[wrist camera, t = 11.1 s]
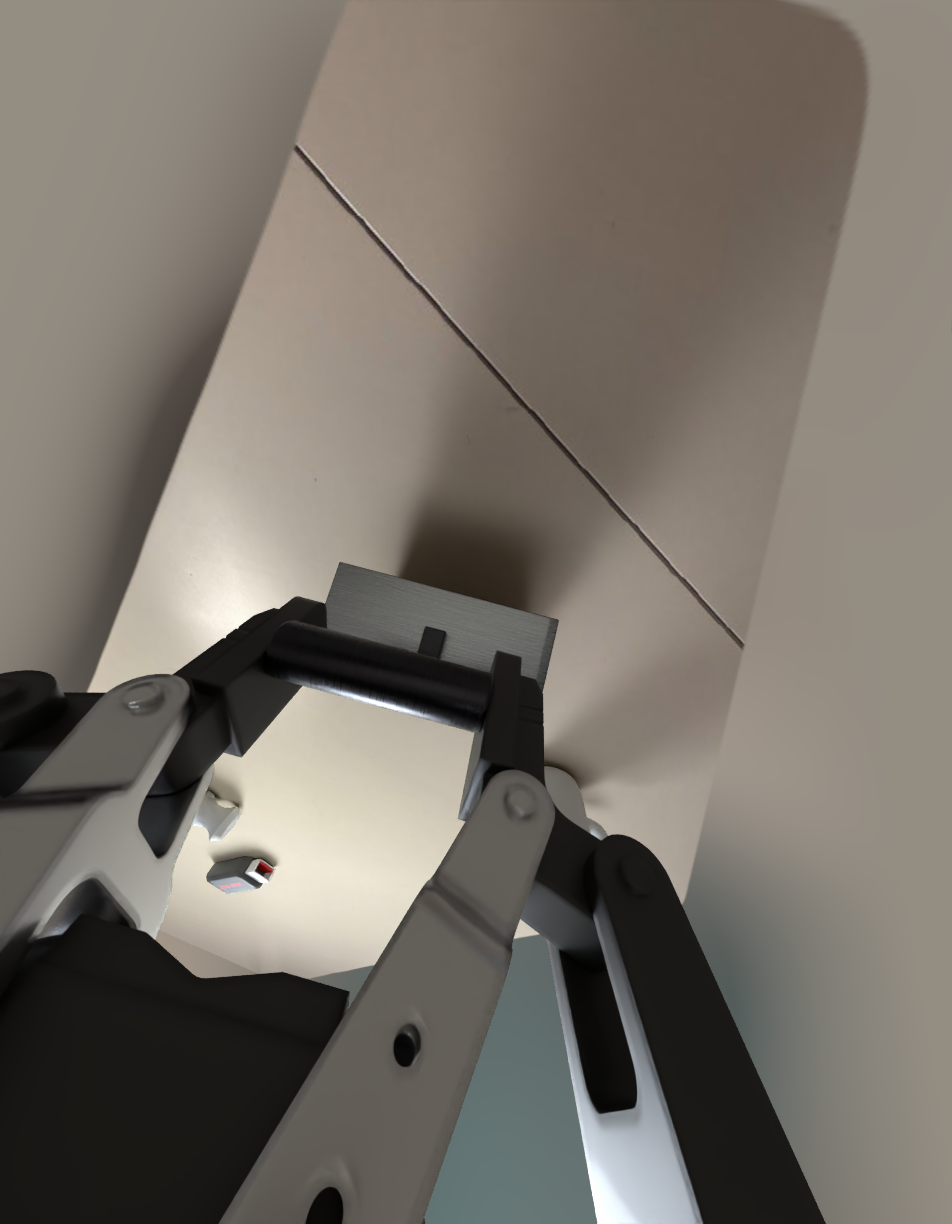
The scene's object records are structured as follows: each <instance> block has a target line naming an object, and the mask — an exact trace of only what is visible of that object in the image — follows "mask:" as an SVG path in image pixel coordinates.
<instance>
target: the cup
mask: <svg viewBox="0 0 952 1224" xmlns="http://www.w3.org/2000/svg"><path fill="white" fill-rule="evenodd" d="M544 774H545V784H546V788H547V791H548V792H549V794H550V796H551V798H552V801H553V803H554V804H555V806H556V807H557V808H558V809H559V810H560V812H561V813H562V814H563V815H564V816H566V817H567V818H568V819H569V820H571V821H572V822H573V823H575V824H576V825H578V826H580V827H581V828H583V829H584V830H586V831H587V832H589V833H590V834H592V835H594V836H595V837H597V838H598V839H600V840H601V841H602V840H603V839H604V838H605V837H607V836H608V835H607V833H606V831H605V830H604V829H603V827H602V826H601V825H599V824H598V823H597V822H595V821H593V820H591V819H589V818H587V816H586V812H585V808H584V803H583V799H582V795H581V792H580V789H579V787H578V785H577V783H576V781H575V780H574V779H573V778H572V777H571V776H570V775H569V774H568V773H566V772H564V771H562V770H560V769H557V768H554V767H548V766H544Z"/></svg>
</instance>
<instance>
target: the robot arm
mask: <svg viewBox="0 0 952 1224" xmlns="http://www.w3.org/2000/svg"><path fill="white" fill-rule="evenodd" d="M291 620H296V621H300V622H304V623H307V624H311V625H315V626H319V627H322V628H326V629H327V608H326V605H325V604H324V603H321V602H317V601H314V600H310V599H306V598H303V597H299V596H298V597H294V598H293V599H291V600H290V601H289V602H288V603H286V604H285V605H284V606H282V607H281V608H280V609H276V608H273V609H270V610H267V611H265V612H262V613H259V614H257V615H254V616H253V617H251V618H250V619H249V620H247V621H246V622H244V623H243V624H242V625H240V626H239V628H238V629H235V630H233V631H232V632H231V633H229V634H228V635H227V636H226V638H222V639H221V640H220V641H218V642H217V643H216V644H214V645H213V646H211V647H210V648H209V649H207V650H206V651H205V652H203V653H202V654H200V655H199V656H198V657H196V658H195V659H193V660H192V661H191V662H189V663H188V664H187V665H185V666H184V667H182V668H181V669H180V670H178V671H177V672H176V673H174V674H173V675H170V674H154V675H147V676H142V677H139V678H135V679H132V680H129V681H127V682H124V683H122V684H120V685H118V686H116V687H115V688H113V689H111V690H110V691H108V692H107V693H63V692H62V690H61V688H60V686H59V685H58V683H57V682H56V680H55V678H54V677H53V676H52V675H50V674H48V673H45V672H42V671H33V670H31V671H29V670H26V671H15V672H8V673H2V674H0V1224H425V1219H424V1216H425V1213H426V1210H427V1207H428V1204H429V1201H430V1198H431V1195H432V1192H433V1190H434V1187H435V1184H436V1181H437V1178H438V1175H439V1172H440V1169H441V1166H442V1163H443V1160H444V1157H445V1155H446V1152H447V1148H448V1146H449V1143H450V1140H451V1137H452V1134H453V1131H454V1128H455V1125H456V1122H457V1119H458V1117H459V1114H460V1111H461V1108H462V1105H463V1102H464V1099H465V1096H466V1093H467V1090H468V1087H469V1085H470V1082H471V1079H472V1076H473V1073H474V1070H475V1067H476V1064H477V1061H478V1058H479V1055H480V1052H481V1049H482V1046H483V1044H484V1041H485V1037H486V1035H487V1032H488V1029H489V1026H490V1023H491V1020H492V1017H493V1015H494V1012H495V1009H496V1006H497V1003H498V1000H499V997H500V994H501V991H502V988H503V985H504V982H505V979H506V976H507V973H508V969H509V965H510V961H511V957H512V942H513V938H514V935H515V932H516V929H517V926H518V923H519V920H520V919H521V920H522V921H524V922H525V923H526V924H528V925H529V926H530V927H532V928H533V929H534V930H535V931H537V932H538V933H539V934H541V935H542V936H543V937H545V938H546V939H547V943H548V949H549V955H550V960H551V966H552V972H553V977H554V983H555V988H556V994H557V999H558V1005H559V1011H560V1015H561V1021H562V1027H563V1033H564V1038H565V1044H566V1050H567V1055H568V1061H569V1066H570V1072H571V1077H572V1082H573V1088H574V1094H575V1099H576V1105H577V1111H578V1116H579V1121H580V1128H581V1133H582V1139H583V1144H584V1150H585V1155H586V1161H587V1166H588V1172H589V1177H590V1183H591V1188H592V1194H593V1200H594V1205H595V1211H596V1216H597V1222H598V1224H826V1223H825V1221H824V1219H823V1216H822V1214H821V1212H820V1210H819V1208H818V1205H817V1203H816V1201H815V1199H814V1197H813V1194H812V1192H811V1190H810V1188H809V1186H808V1183H807V1181H806V1179H805V1177H804V1174H803V1172H802V1170H801V1168H800V1166H799V1163H798V1161H797V1159H796V1157H795V1155H794V1152H793V1150H792V1148H791V1146H790V1144H789V1141H788V1139H787V1137H786V1135H785V1133H784V1130H783V1128H782V1126H781V1124H780V1121H779V1119H778V1117H777V1115H776V1113H775V1110H774V1108H773V1106H772V1104H771V1101H770V1100H769V1097H768V1095H767V1093H766V1090H765V1089H764V1086H763V1084H762V1082H761V1079H760V1077H759V1075H758V1073H757V1071H756V1068H755V1066H754V1064H753V1062H752V1059H751V1058H750V1055H749V1053H748V1051H747V1049H746V1046H745V1044H744V1042H743V1040H742V1037H741V1035H740V1033H739V1031H738V1028H737V1027H736V1024H735V1022H734V1020H733V1017H732V1016H731V1013H730V1011H729V1009H728V1006H727V1004H726V1002H725V1000H724V998H723V995H722V993H721V991H720V989H719V986H718V985H717V982H716V980H715V978H714V976H713V973H712V971H711V969H710V967H709V964H708V962H707V960H706V958H705V956H704V953H703V951H702V949H701V947H700V944H699V942H698V940H697V938H696V936H695V933H694V931H693V929H692V927H691V925H690V922H689V920H688V918H687V916H686V914H685V911H684V909H683V907H682V905H681V902H680V900H679V898H678V896H677V894H676V891H675V889H674V887H673V885H672V883H671V880H670V878H669V876H668V874H667V872H666V870H665V869H664V867H663V866H662V864H661V863H660V861H659V860H658V859H657V858H656V856H655V855H654V854H653V853H652V852H651V851H650V850H649V849H648V848H646V847H645V846H644V845H643V844H641V843H640V842H638V841H637V840H635V839H633V838H631V837H628V836H625V835H619V834H616V835H610V836H607V837H605V838H604V839H603V840H602V841H601V840H600V839H598V838H597V837H595V836H594V835H592V834H590V833H589V832H587V831H586V830H584V829H583V828H581V827H580V826H578V825H576V824H575V823H573V822H572V821H571V820H569V819H568V818H567V817H566V816H564V815H563V814H562V813H561V812H560V810H559V809H558V808H557V807H556V806H555V804H554V803H553V801H552V798H551V796H550V794H549V792H548V791H547V788H546V784H545V774H544V726H543V723H544V722H543V693H542V691H541V689H540V687H539V685H538V683H537V681H536V679H533V678H529V677H525V676H522V675H521V664H522V657H520V656H516V655H513V654H509V653H505V652H502V651H498V650H497V651H496V653H495V656H494V660H493V663H492V666H491V669H490V672H489V673H492V674H493V677H494V682H493V689H492V694H491V698H490V703H489V707H488V710H487V714H486V717H485V720H484V724H483V726H482V729H481V730H480V732H479V733H475V734H474V739H473V744H472V749H471V754H470V759H469V764H468V769H467V775H466V780H465V785H464V790H463V795H462V800H461V805H460V811H459V816H458V819H460V820H463V821H466V822H465V824H464V825H463V827H462V829H461V830H460V832H459V834H458V835H457V837H456V839H455V840H454V842H453V844H452V845H451V847H450V849H449V850H448V852H447V854H446V856H445V857H444V859H443V861H442V862H441V864H440V866H439V867H438V869H437V870H436V872H435V874H434V875H433V876H432V878H431V879H430V880H428V881H427V882H426V884H425V885H424V886H423V888H422V889H421V891H420V892H419V894H418V895H417V897H416V898H415V900H414V902H413V903H412V905H411V906H410V908H409V910H408V911H407V913H406V915H405V916H404V918H403V920H402V921H401V923H400V925H399V926H398V928H397V930H396V931H395V933H394V934H393V936H392V938H391V939H390V941H389V943H388V944H387V946H386V948H385V949H384V951H383V953H382V954H381V956H380V958H379V959H378V961H377V963H376V964H375V966H374V968H373V969H372V971H371V973H370V974H369V976H368V978H367V979H366V981H365V982H364V984H363V986H362V988H361V989H360V991H359V992H358V994H357V996H356V997H355V999H354V1001H353V1002H352V1004H351V1006H350V1007H349V1008H348V1006H349V991H346V990H342V989H339V988H335V987H332V986H329V985H325V984H322V983H318V982H315V981H312V980H308V979H305V978H301V977H298V976H294V975H291V974H288V973H284V972H278V973H266V974H255V975H242V976H231V977H218V978H199V977H196V976H195V975H193V974H192V973H191V972H190V971H189V970H188V969H186V968H185V967H184V966H183V965H182V964H181V963H180V962H179V961H178V960H177V959H175V958H174V957H173V956H172V955H171V954H170V953H169V952H167V950H165V949H164V948H163V947H162V946H161V945H160V944H159V943H158V942H157V941H156V940H155V939H156V936H157V934H158V932H159V929H160V927H161V924H162V922H163V919H164V917H165V914H166V911H167V908H168V904H169V901H170V896H171V891H172V875H173V870H174V866H175V863H176V860H177V857H178V855H179V853H180V850H181V848H182V846H183V844H184V841H185V839H186V837H187V834H188V832H189V830H190V828H191V825H192V823H193V821H194V818H195V816H196V814H197V812H198V809H199V807H200V805H201V802H202V800H203V798H204V795H205V793H206V791H207V789H208V786H209V784H210V782H211V779H212V777H213V774H214V764H213V763H214V762H215V761H216V760H217V759H218V758H219V757H220V756H221V754H222V753H223V752H224V753H227V754H231V755H235V756H238V757H242V756H243V755H244V754H245V753H246V752H247V751H248V749H249V748H250V747H251V746H252V745H253V743H254V742H255V741H256V740H257V739H258V738H259V736H260V735H261V734H262V733H263V732H264V731H265V729H266V728H267V727H268V726H269V725H270V723H271V722H272V721H273V720H274V719H275V718H276V716H277V715H278V714H279V713H280V712H281V710H282V709H283V708H284V707H285V706H286V705H287V703H288V702H289V701H290V700H291V699H292V698H293V696H294V695H295V694H296V693H297V692H298V690H299V689H300V688H301V687H302V685H298V684H294V683H291V682H287V681H283V680H280V679H276V678H273V677H271V676H269V675H268V674H267V672H266V671H265V667H264V657H265V652H266V648H267V645H268V643H269V641H270V639H271V637H272V635H273V634H274V632H275V631H276V630H277V629H278V628H279V627H280V626H281V625H282V624H283V623H285V622H287V621H291Z"/></svg>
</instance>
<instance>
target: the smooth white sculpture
mask: <svg viewBox="0 0 952 1224" xmlns="http://www.w3.org/2000/svg"><path fill="white" fill-rule="evenodd" d="M214 798H215V797H214V795H213V794H212V793H211V792H210V791H207V792H206V793H205V795H204V798H203V800H202V802H201V805H200V807H199V809H198V812H197V814H196V816H195V818H194V821H193V823H192V825H193V826H202V827H204V828H205V829H207V831H208V832H209V840H210V841H215V840H221V839H222V838H223V837H224V836H225V835H226V834H227V833H228V832H229V831H230V830H231V828H232V827H233V826H234V824H235V823H236V821H237V820H238V818H239V816H240V812H239V809H238V807H233V808H224V807H221V806H220V805H218V803H217V802H216V801H215V800H214Z"/></svg>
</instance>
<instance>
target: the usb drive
mask: <svg viewBox="0 0 952 1224" xmlns="http://www.w3.org/2000/svg"><path fill="white" fill-rule="evenodd" d="M275 870H276V869H275V868H273V867H272V866H270V865H269V864H268V863H266V862H265V861H263V860H262V859H257V860H255V859H254V858H252V857H241V858H237V859H232V860H228V861H224V862H220V863H216V864H214V865H213V866H212V868H211V869H210V871H209V872H208V874H207V876H206V878H207V882H209V883H210V884H212V885H214V886H215V887H217V888H218V889H220V890H221V891H223V892H225V893H226V894H231V893H236V892H242V891H248V890H254V889H258V888H260V887H261V886H262V884H263V883H265V882H269V880H270V879H271V877H272V875H273V873H274V872H275Z"/></svg>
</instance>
